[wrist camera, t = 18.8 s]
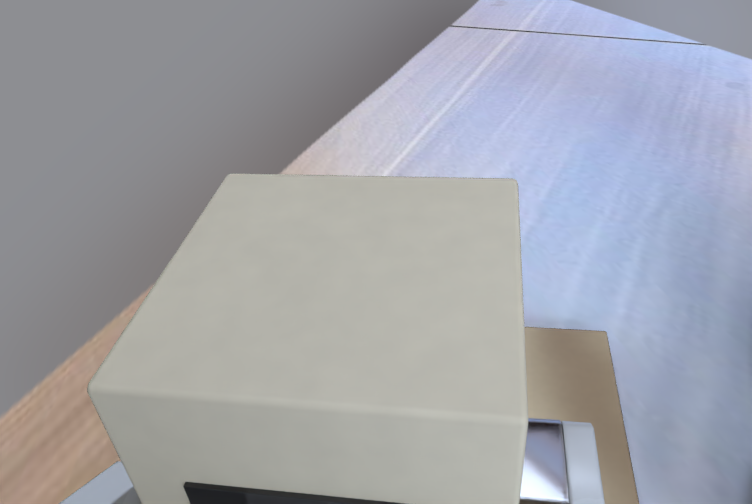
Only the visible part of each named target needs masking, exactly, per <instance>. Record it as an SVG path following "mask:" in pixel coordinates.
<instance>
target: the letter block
mask: <svg viewBox="0 0 752 504" xmlns="http://www.w3.org/2000/svg"><path fill="white" fill-rule="evenodd" d="M87 392H88V394H89V396H90V398H91V400H92V402H93V404H94V406H95V408H96V410H97V413H98V415H99V417H100V419H101V421H102V423H103V425H104V427H105V429H106V431H107V433H108V435H109V437H110V439H111V441H112V443H113V445H114V447H115V449H116V451H117V454H118V456H119V458H120V460H121V462H122V464H123V466H124V468H125V470H126V472H127V474H128V476H129V478H130V480H131V482H132V484H133V486H134V488H135V490H136V492H137V495H138V497H139V499H140V501H141V503H142V504H519V502H520V493H521V484H522V475H523V466H524V457H525V448H526V439H527V429H528V400H527V377H526V354H525V331H524V308H523V285H522V262H521V239H520V217H519V194H518V183H517V181H516V180H515V179H505V178H449V177H393V176H337V175H281V174H229V175H227V176H226V178H225V179H224V181H223V182H222V184H221V185H220V187H219V188H218V190H217V191H216V193H215V194H214V196H213V197H212V199H211V200H210V202H209V203H208V205H207V206H206V208H205V209H204V211H203V212H202V214H201V215H200V217H199V218H198V220H197V221H196V223H195V224H194V226H193V227H192V229H191V230H190V232H189V233H188V235H187V236H186V238H185V239H184V241H183V242H182V244H181V245H180V247H179V248H178V250H177V251H176V253H175V254H174V256H173V257H172V259H171V260H170V262H169V263H168V265H167V266H166V268H165V269H164V271H163V272H162V274H161V275H160V277H159V278H158V280H157V281H156V283H155V284H154V286H153V287H152V289H151V290H150V292H149V293H148V295H147V296H146V298H145V299H144V301H143V302H142V304H141V305H140V307H139V308H138V310H137V311H136V313H135V314H134V316H133V318H132V319H131V321H130V322H129V324H128V325H127V327H126V328H125V330H124V331H123V333H122V334H121V336H120V337H119V339H118V340H117V342H116V343H115V345H114V346H113V348H112V349H111V351H110V352H109V354H108V355H107V357H106V358H105V360H104V361H103V363H102V364H101V366H100V367H99V369H98V370H97V372H96V373H95V375H94V376H93V378H92V379H91V381H90V382H89V384H88V388H87Z"/></svg>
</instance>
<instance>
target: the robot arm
mask: <svg viewBox="0 0 752 504" xmlns="http://www.w3.org/2000/svg"><path fill="white" fill-rule="evenodd" d="M59 504H142V503H141V501H140V499H139V497H138V495H137V492H136V490H135V488H134V486H133V484H132V482H131V480H130V478H129V476H128V474H127V472H126V470H125V468H124V466H123V464H122V462H118V461H117V462H116V463H114V464H113V465H112V466H110V467H109V468H108V469H106V470H105V471H103V472H102V473H101V474H99V475H98V476H96V477H95V478H94V479H92V480H91V481H90V482H88V483H87V484H85V485H84V486H83V487H81V488H80V489H79V490H77V491H76V492H74V493H73V494H72V495H70V496H69V497H67V498H66V499H65V500H63V501H62V502H61V503H59ZM519 504H605V501H604V494H603V487H602V481H601V474H600V467H599V460H598V453H597V447H596V440H595V433H594V428H593V426H592V424H591V423H585V422H572V421H561V422H560V420H552V419H536V418H528V429H527V439H526V448H525V457H524V466H523V475H522V484H521V493H520V502H519Z"/></svg>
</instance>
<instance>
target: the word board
mask: <svg viewBox="0 0 752 504" xmlns="http://www.w3.org/2000/svg"><path fill="white" fill-rule="evenodd" d="M524 331H525V354H526V377H527V400H528V418H536V419H552V420H560V422H561V421H572V422H585V423H591V424H592V426H593V428H594V433H595V440H596V447H597V453H598V460H599V467H600V474H601V481H602V487H603V494H604V501H605V504H639V500H638V495H637V490H636V484H635V479H634V474H633V469H632V463H631V458H630V453H629V448H628V442H627V437H626V432H625V427H624V421H623V416H622V411H621V406H620V400H619V395H618V390H617V385H616V379H615V374H614V369H613V364H612V358H611V353H610V348H609V343H608V337H607V333H606V332H605V331H592V330H574V329H555V328H537V327H524Z"/></svg>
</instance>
